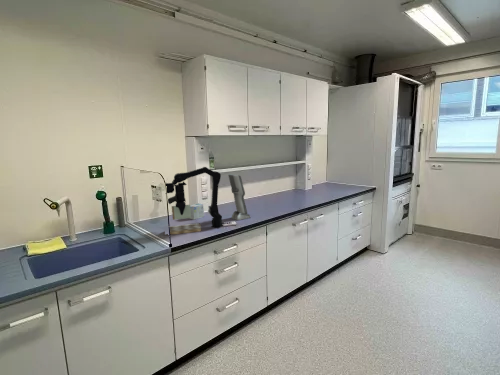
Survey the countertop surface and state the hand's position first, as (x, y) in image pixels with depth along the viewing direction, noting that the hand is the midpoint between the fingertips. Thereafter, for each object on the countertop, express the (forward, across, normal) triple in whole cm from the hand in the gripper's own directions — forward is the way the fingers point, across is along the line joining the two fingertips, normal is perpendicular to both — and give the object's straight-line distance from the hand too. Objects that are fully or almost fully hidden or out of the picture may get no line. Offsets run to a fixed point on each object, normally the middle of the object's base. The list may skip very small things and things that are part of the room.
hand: (181, 214), depth 183 cm
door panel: (+3, 0, 0) cm, 3 cm away
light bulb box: (+12, -33, +10) cm, 37 cm away
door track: (+12, 0, 0) cm, 12 cm away
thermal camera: (+12, -19, +44) cm, 50 cm away
